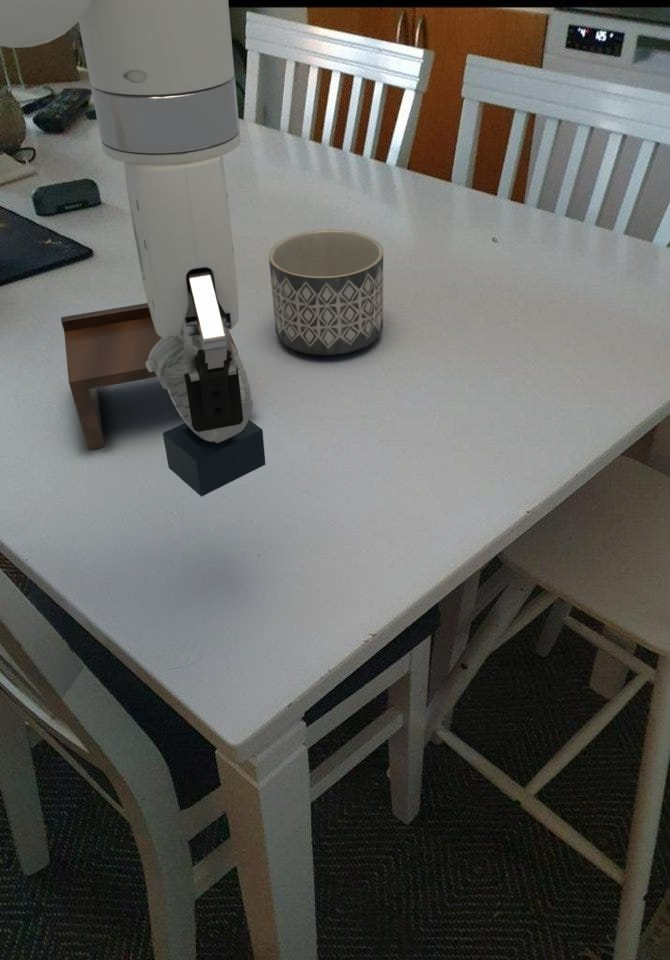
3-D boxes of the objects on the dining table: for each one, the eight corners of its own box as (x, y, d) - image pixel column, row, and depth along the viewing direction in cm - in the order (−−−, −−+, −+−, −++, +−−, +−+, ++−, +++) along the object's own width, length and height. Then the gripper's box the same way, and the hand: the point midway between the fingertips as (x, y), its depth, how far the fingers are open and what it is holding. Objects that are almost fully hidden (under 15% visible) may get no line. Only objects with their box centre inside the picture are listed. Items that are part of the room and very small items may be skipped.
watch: (217, 427, 62) (200, 296, 56) (280, 476, 58) (270, 339, 51) (153, 456, 60) (127, 322, 53) (214, 510, 55) (194, 370, 48)
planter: (375, 366, 90) (375, 279, 84) (265, 360, 92) (256, 274, 86) (388, 312, 100) (389, 231, 93) (288, 307, 102) (282, 227, 95)
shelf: (88, 450, 80) (65, 370, 74) (81, 392, 88) (60, 316, 82) (246, 418, 83) (236, 340, 77) (226, 366, 92) (215, 291, 86)
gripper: (87, 84, 49) (136, 338, 60) (111, 174, 36) (168, 477, 47) (209, 74, 51) (235, 323, 62) (273, 156, 38) (292, 453, 49)
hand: (206, 388), depth 55 cm, fingers closed on watch, 8 cm apart
